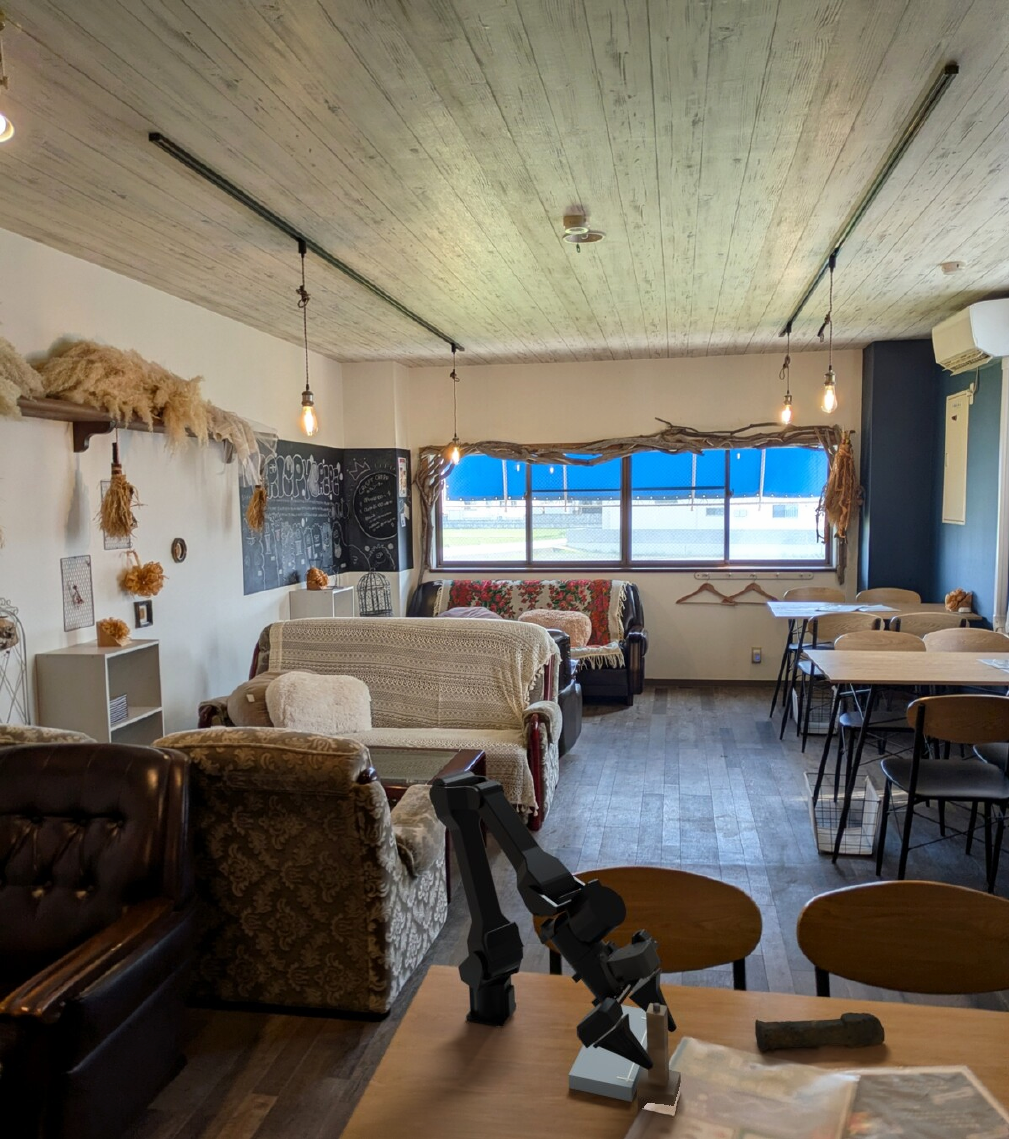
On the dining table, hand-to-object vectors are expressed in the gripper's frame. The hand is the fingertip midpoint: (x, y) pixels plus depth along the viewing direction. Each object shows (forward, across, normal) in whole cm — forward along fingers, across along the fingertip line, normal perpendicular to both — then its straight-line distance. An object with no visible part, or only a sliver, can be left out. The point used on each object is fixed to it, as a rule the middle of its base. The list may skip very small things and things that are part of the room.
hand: (663, 1048), depth 118 cm
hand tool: (+17, +23, -6) cm, 29 cm away
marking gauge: (+5, 0, +6) cm, 8 cm away
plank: (-2, +7, +12) cm, 14 cm away
